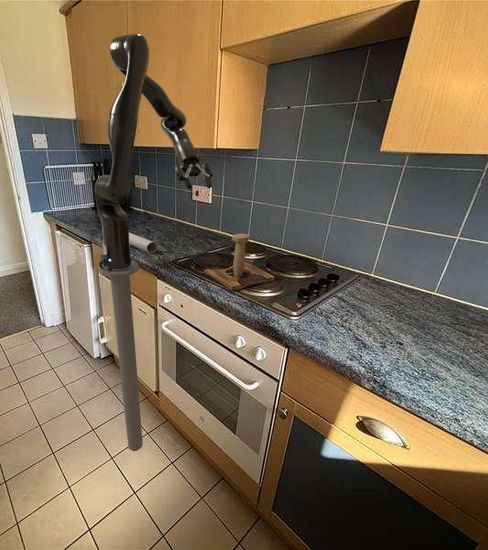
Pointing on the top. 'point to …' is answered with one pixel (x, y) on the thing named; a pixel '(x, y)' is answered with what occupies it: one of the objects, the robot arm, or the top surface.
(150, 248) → the tube
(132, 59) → the robot arm
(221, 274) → the base pad
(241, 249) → the handle
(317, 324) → the top surface
